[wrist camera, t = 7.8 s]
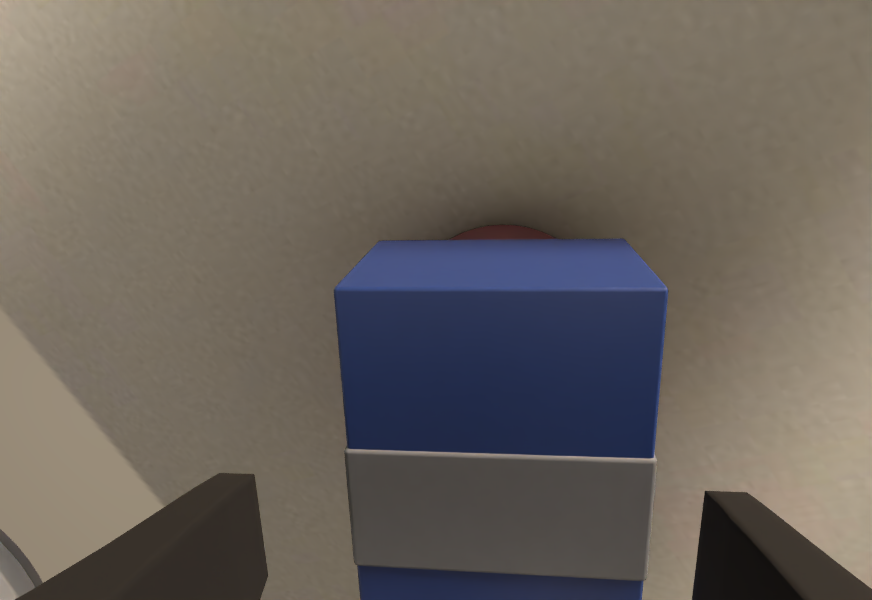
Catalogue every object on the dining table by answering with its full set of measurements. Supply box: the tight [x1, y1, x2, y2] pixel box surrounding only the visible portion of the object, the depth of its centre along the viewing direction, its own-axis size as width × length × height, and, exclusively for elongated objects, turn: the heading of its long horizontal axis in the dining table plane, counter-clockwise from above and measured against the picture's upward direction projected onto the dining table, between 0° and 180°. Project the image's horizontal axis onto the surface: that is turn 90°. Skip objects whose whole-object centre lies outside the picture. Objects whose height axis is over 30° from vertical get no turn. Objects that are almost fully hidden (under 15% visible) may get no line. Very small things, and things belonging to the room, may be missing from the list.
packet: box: [334, 239, 668, 600], centre depth 12 cm, size 8×5×4 cm, turn 2°
